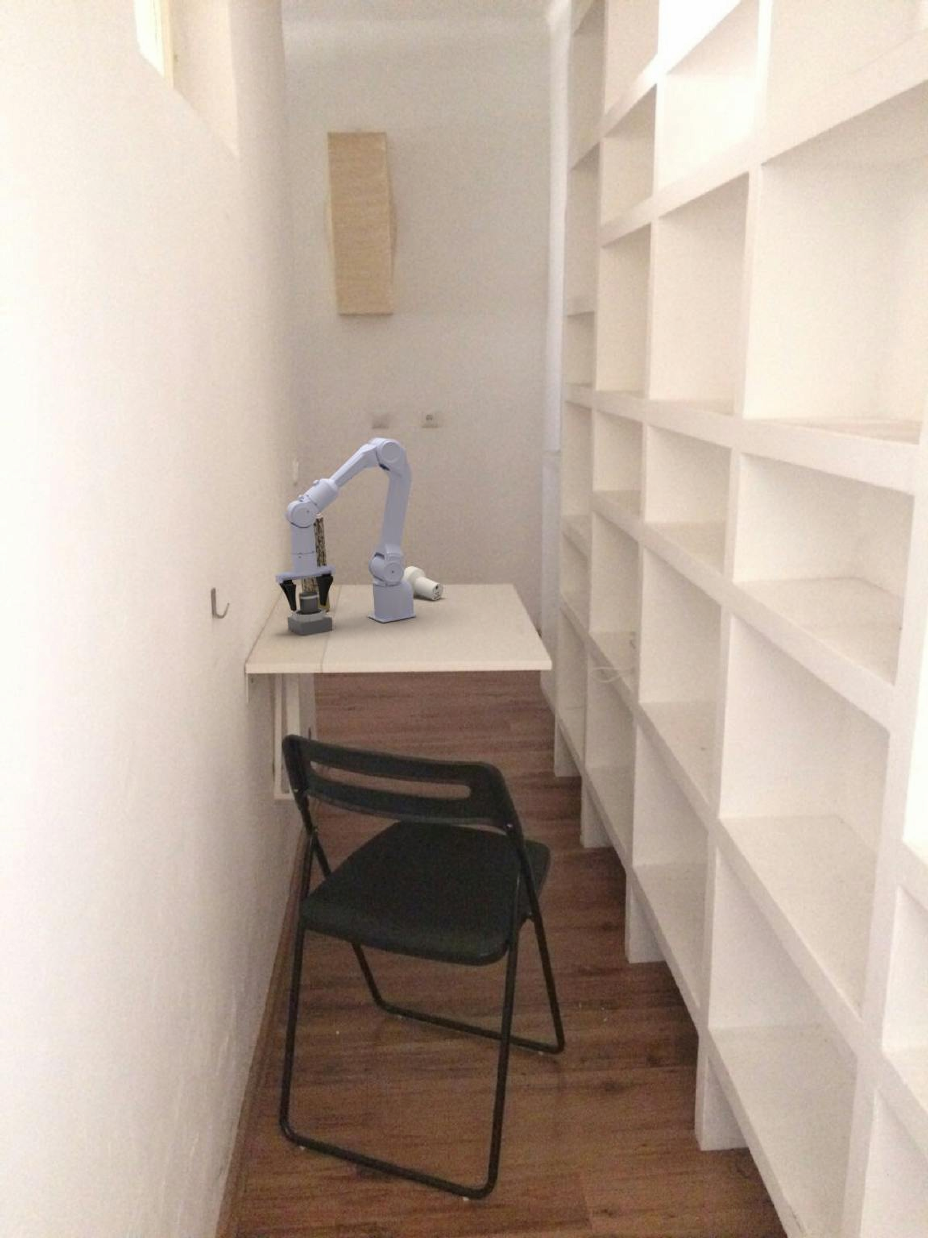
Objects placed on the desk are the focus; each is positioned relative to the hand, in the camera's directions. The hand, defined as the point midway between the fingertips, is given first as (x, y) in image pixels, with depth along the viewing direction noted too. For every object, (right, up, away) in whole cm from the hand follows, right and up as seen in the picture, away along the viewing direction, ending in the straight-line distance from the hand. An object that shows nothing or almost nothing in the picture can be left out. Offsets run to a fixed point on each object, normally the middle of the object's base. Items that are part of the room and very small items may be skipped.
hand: (308, 607), depth 232 cm
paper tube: (-1, -1, +19) cm, 19 cm away
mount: (0, -5, +1) cm, 5 cm away
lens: (0, -2, 0) cm, 2 cm away
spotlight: (+26, +3, +29) cm, 39 cm away
